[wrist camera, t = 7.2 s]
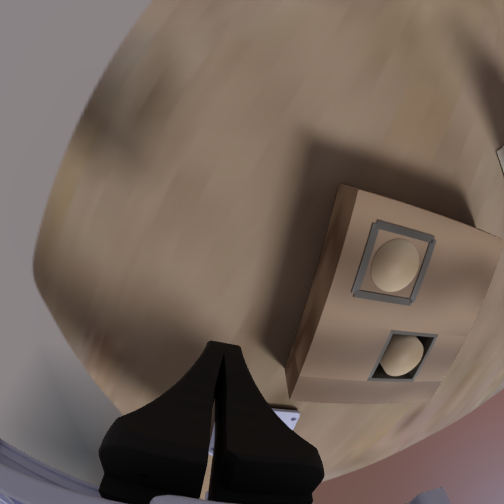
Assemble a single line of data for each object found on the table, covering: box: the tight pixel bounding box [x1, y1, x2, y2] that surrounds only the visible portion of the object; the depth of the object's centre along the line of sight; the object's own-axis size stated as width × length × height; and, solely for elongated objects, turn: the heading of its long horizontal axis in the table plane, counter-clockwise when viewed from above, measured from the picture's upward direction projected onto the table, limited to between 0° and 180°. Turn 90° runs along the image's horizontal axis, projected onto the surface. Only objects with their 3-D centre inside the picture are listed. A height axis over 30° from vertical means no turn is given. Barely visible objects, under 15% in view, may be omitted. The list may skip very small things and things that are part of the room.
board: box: [285, 183, 504, 404], centre depth 21 cm, size 16×14×4 cm
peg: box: [380, 334, 423, 376], centre depth 22 cm, size 4×4×4 cm
